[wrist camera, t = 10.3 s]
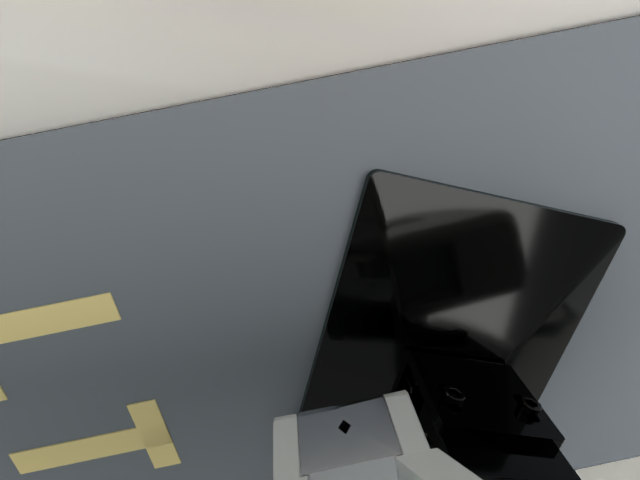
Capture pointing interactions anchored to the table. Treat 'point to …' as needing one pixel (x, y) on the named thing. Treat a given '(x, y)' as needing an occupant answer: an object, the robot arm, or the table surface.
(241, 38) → the table surface
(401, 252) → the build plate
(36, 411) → the mat
